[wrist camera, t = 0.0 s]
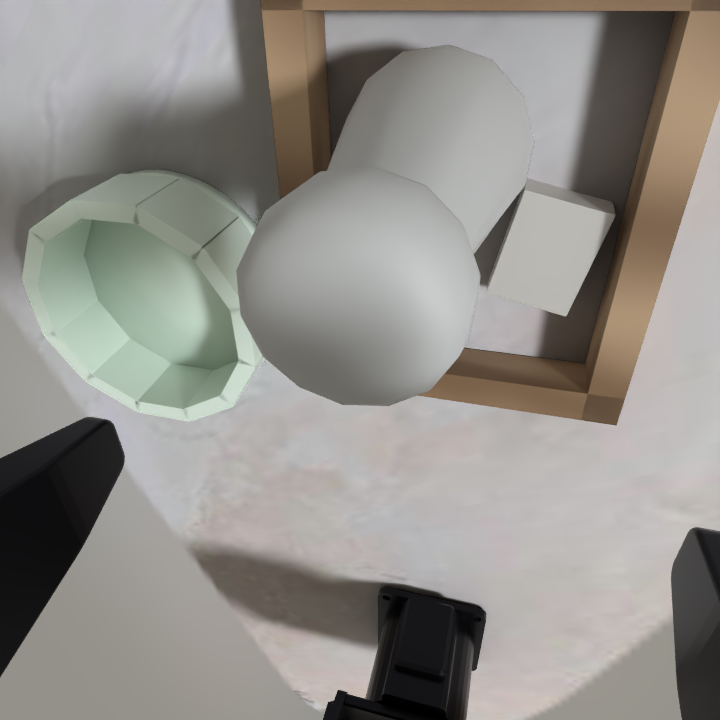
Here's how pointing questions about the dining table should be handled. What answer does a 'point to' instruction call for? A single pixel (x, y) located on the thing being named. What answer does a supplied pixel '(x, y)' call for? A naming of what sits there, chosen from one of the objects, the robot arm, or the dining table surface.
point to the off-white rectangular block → (549, 246)
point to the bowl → (147, 292)
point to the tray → (640, 219)
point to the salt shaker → (389, 232)
